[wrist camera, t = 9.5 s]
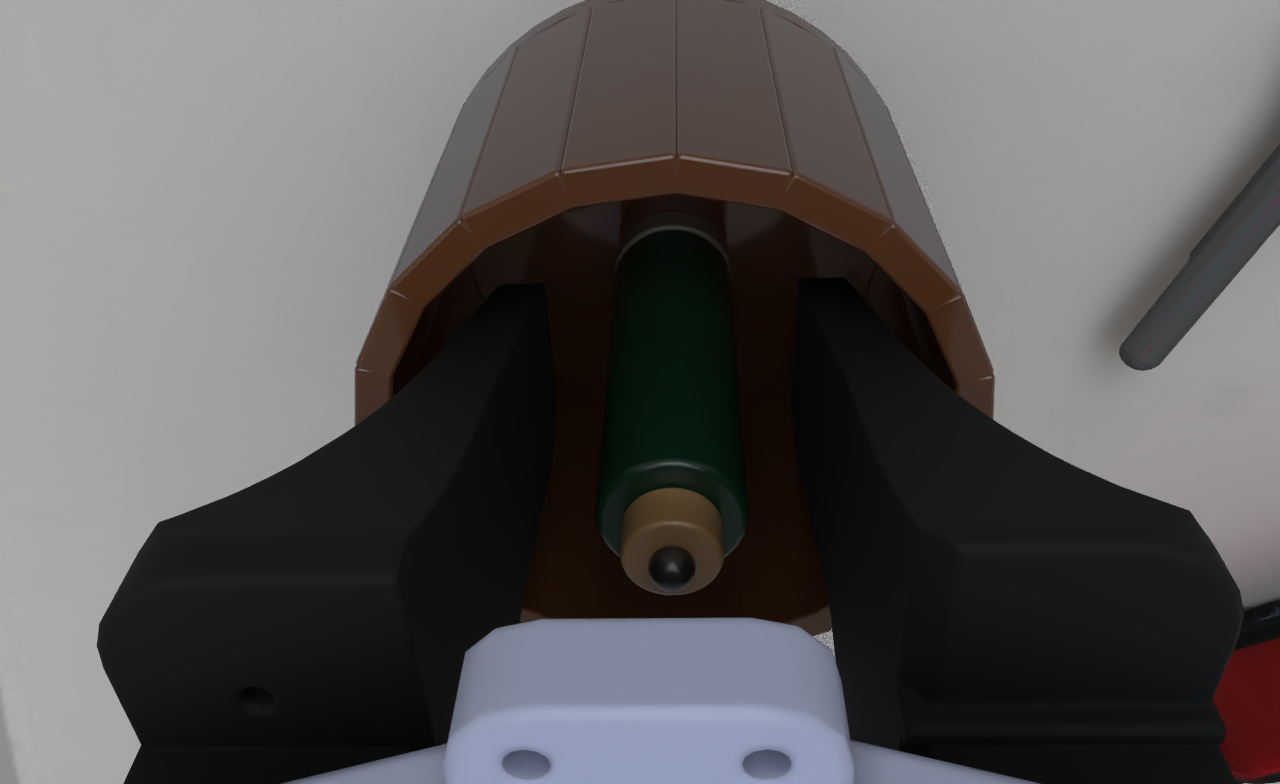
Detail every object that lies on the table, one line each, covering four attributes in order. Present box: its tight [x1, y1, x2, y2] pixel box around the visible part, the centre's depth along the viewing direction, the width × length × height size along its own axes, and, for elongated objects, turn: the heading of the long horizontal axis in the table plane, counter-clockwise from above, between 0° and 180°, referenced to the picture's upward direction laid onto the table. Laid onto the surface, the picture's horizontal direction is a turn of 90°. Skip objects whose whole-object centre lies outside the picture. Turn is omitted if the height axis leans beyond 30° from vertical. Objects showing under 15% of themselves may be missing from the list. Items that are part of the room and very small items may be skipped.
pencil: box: [596, 194, 749, 595], centre depth 14 cm, size 2×2×8 cm
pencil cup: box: [355, 0, 995, 636], centre depth 15 cm, size 8×8×6 cm
